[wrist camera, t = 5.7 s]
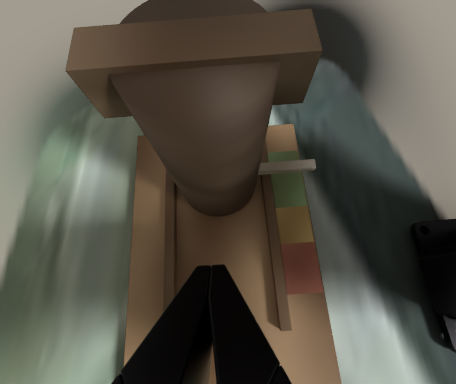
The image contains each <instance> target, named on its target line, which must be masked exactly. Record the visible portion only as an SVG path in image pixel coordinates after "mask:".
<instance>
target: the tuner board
mask: <svg viewBox="0 0 456 384" xmlns="http://www.w3.org/2000/svg"><path fill="white" fill-rule="evenodd" d="M295 160H300V157H299V152H298V147H297V141H296V136H295V130H294V125H293V124H287V125H274V126H268V128H267V133H266V138H265V143H264V148H263V153H262V157H261V162H260V163H268V162H282V161H295ZM217 264H224V265H225V266H226V267H227V269H228V271H229V273H230V275H231V276H232V278H233V280H234V282H235V283H236V285H237V287H238V289H239V291H240V292H241V294H242V296H243V298H244V299H245V301H246V303H247V305H248V307H249V308H250V310H251V312H252V314H253V315H254V317H255V319H256V321H257V323H258V324H259V326H260V328H261V330H262V331H263V333H264V335H265V337H266V339H267V340H268V342H269V344H270V346H271V347H272V349H273V351H274V353H275V355H276V356H277V358H278V360H279V362H280V366H282V367H283V368H284V370H285V372H286V374H287V376H288V377H289V379H290V381H291V383H292V384H341V379H340V373H339V368H338V363H337V357H336V352H335V346H334V341H333V336H332V330H331V325H330V319H329V314H328V309H327V303H326V298H325V292H324V287H323V282H322V276H321V271H320V265H319V260H318V255H317V249H316V244H315V238H314V233H313V228H312V222H311V217H310V211H309V206H308V201H307V195H306V190H305V184H304V179H303V174H302V171H301V172H288V173H275V174H262V175H258V177H257V182H256V186H255V191H254V193H253V195H252V197H251V199H250V200H249V202H248V203H247V204H246V205H245V206H244V207H243V208H242V209H240V210H239V211H237V212H235V213H233V214H230V215H226V216H209V215H205V214H203V213H200V212H199V211H197V210H195V209H194V208H193V207H192V206H191V205H190V204H189V203H188V202H187V200H186V199H185V197H184V196H183V194H182V193H181V191H180V190H179V188H178V186H177V185H176V183H175V182H174V180H173V178H172V177H171V175H170V174H169V172H168V171H167V169H166V167H165V166H164V164H163V163H162V161H161V160H160V158H159V156H158V155H157V153H156V152H155V150H154V149H153V147H152V145H151V144H150V142H149V141H148V139H147V137H146V136H145V135H144V136H138V146H137V162H136V178H135V194H134V210H133V226H132V242H131V258H130V274H129V290H128V306H127V322H126V338H125V354H124V366H125V364H126V363H127V362H128V360H129V359H130V358H131V356H132V355H133V353H134V352H135V351H136V349H137V348H138V347H139V345H140V344H141V342H142V341H143V340H144V338H145V337H146V335H147V334H148V333H149V331H150V330H151V329H152V327H153V326H154V324H155V323H156V322H157V320H158V319H159V318H160V316H161V315H162V313H163V312H164V311H165V309H166V308H167V306H168V305H169V304H170V302H171V301H172V300H173V298H174V297H175V295H176V294H177V293H178V291H179V290H180V288H181V287H182V286H183V284H184V283H185V282H186V280H187V279H188V277H189V276H190V275H191V273H192V272H193V271H194V269H195V268H196V267H197V266H199V265H210V266H212V265H217ZM208 384H216V374H215V364H214V354H213V347H212V357H211V366H210V375H209V383H208Z"/></svg>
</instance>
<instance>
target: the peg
mask: <svg viewBox="0 0 456 384" xmlns="http://www.w3.org/2000/svg"><path fill="white" fill-rule="evenodd" d="M321 53H322V47H321V44H320V40H319V36H318V32H317V28H316V24H315V21H314V17H313V13H312V10H311V9H303V10H291V11H278V12H267V11H266V10H265V9H264V8H263V7H261V6H260V5H259V4H257V3H256V2H254V1H253V0H148V1H147V2H145V3H143V4H141V5H140V6H138V7H137V8H135V9H134V10H133V11H132V12H130V13H129V14H128V15H127V16H126V17H125V18H124V19H123V20H122V21H121V23H120V24H117V25H104V26H92V27H81V28H74V30H73V36H72V40H71V46H70V51H69V56H68V61H67V66H66V72H67V73H68V74H69V76H70V77H71V78H72V79H73V80H74V82H75V83H76V84H77V85H78V87H79V88H80V89H81V90H82V92H83V93H84V94H85V95H86V96H87V98H88V99H89V100H90V101H91V103H92V104H93V105H94V106H95V107H96V109H97V110H98V111H99V112H100V114H101V115H102V116H103V117H104V118H114V117H127V116H133V117H134V119H135V120H136V122H137V123H138V125H139V126H140V128H141V130H142V131H143V133H144V134H145V136H146V137H147V139H148V141H149V142H150V144H151V145H152V147H153V149H154V150H155V152H156V153H157V155H158V156H159V158H160V160H161V161H162V163H163V164H164V166H165V167H166V169H167V171H168V172H169V174H170V175H171V177H172V178H173V180H174V182H175V183H176V185H177V186H178V188H179V190H180V191H181V193H182V194H183V196H184V197H185V199H186V200H187V202H188V203H189V204H190V205H191V206H192V207H193V208H194V209H195V210H197V211H199V212H200V213H203V214H205V215H209V216H226V215H230V214H233V213H235V212H237V211H239V210H240V209H242V208H243V207H244V206H245V205H246V204H247V203H248V202H249V200H250V199H251V197H252V195H253V193H254V191H255V186H256V182H257V177H258V175H262V174H275V173H288V172H301V171H314V170H315V169H316V163H315V159H308V160H295V161H282V162H268V163H260V162H261V157H262V153H263V148H264V143H265V138H266V133H267V128H268V124H269V119H270V114H271V109H272V105H282V104H295V103H303V101H304V98H305V95H306V93H307V90H308V87H309V85H310V82H311V79H312V77H313V74H314V71H315V69H316V66H317V64H318V61H319V58H320V56H321Z"/></svg>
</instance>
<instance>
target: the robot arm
mask: <svg viewBox="0 0 456 384" xmlns="http://www.w3.org/2000/svg"><path fill="white" fill-rule="evenodd" d="M420 227H421V228H422V229H423V230H424V234H422V233H421V232H420ZM410 230H411V234H412V238H413V241H414V244H415V247H416V250H417V253H418V256H419V263H420V266H421V269H422V272H423V275H424V278H425V281H426V285H427V288H428V291H429V294H430V297H431V300H432V304H433V307H434V309H435V310H436V313H437V316H438V319H439V322H440V326H441V329H442V332H443V335H444V338H445V341H446V344H447V346H448V347H449V348H450V349H451V350H452V351H453V352H455V353H456V219H447V220H434V221H421V222H418V223H415V224H413V225H412V226H411V228H410ZM212 347H213V354H214V364H215V374H216V384H292V383H291V381H290V379H289V377H288V376H287V374H286V372H285V370H284V368H283V367H282V366H280V362H279V360H278V358H277V356H276V355H275V353H274V351H273V349H272V347H271V346H270V344H269V342H268V340H267V339H266V337H265V335H264V333H263V331H262V330H261V328H260V326H259V324H258V323H257V321H256V319H255V317H254V315H253V314H252V312H251V310H250V308H249V307H248V305H247V303H246V301H245V299H244V298H243V296H242V294H241V292H240V291H239V289H238V287H237V285H236V283H235V282H234V280H233V278H232V276H231V275H230V273H229V271H228V269H227V267H226V266H225V265H224V264H217V265H212V266H210V265H199V266H197V267H196V268H195V269H194V271H193V272H192V273H191V275H190V276H189V277H188V279H187V280H186V282H185V283H184V284H183V286H182V287H181V288H180V290H179V291H178V293H177V294H176V295H175V297H174V298H173V300H172V301H171V302H170V304H169V305H168V306H167V308H166V309H165V311H164V312H163V313H162V315H161V316H160V318H159V319H158V320H157V322H156V323H155V324H154V326H153V327H152V329H151V330H150V331H149V333H148V334H147V335H146V337H145V338H144V340H143V341H142V342H141V344H140V345H139V347H138V348H137V349H136V351H135V352H134V353H133V355H132V356H131V358H130V359H129V360H128V362H127V363H126V364H125V366H124V367H123V369H122V370H121V374H118V375H117V377H116V378H115V379H114V381H113V382H112V384H208V383H209V375H210V366H211V357H212Z"/></svg>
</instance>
